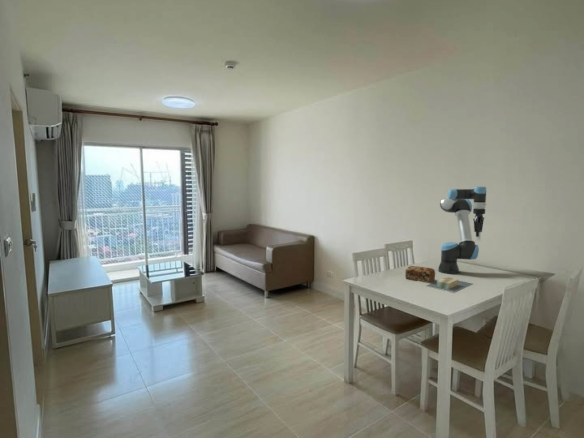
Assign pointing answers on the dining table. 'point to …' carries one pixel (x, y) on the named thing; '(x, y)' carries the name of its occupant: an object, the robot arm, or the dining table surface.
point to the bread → (420, 274)
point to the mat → (459, 287)
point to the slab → (447, 283)
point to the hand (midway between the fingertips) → (477, 240)
